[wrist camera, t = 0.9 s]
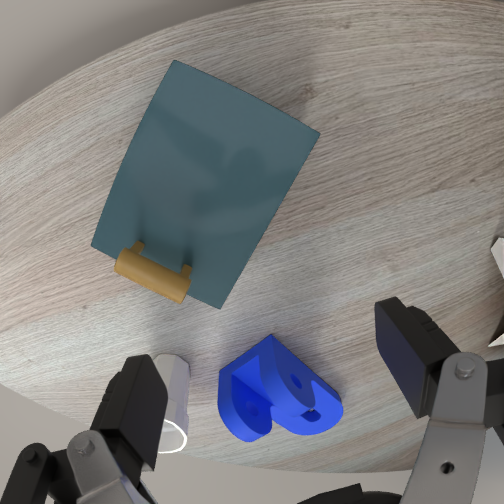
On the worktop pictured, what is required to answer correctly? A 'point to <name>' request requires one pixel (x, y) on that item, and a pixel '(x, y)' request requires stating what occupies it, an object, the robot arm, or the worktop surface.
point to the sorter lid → (199, 186)
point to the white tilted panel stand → (500, 250)
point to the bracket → (274, 394)
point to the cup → (174, 402)
